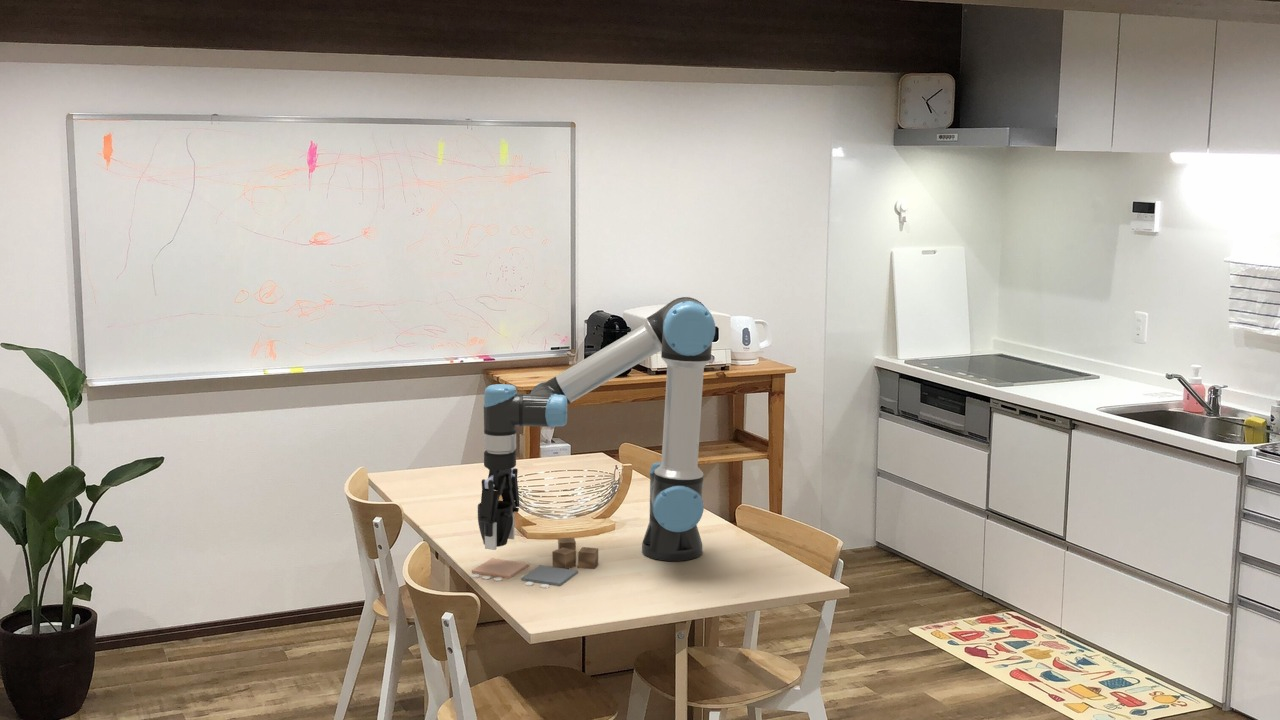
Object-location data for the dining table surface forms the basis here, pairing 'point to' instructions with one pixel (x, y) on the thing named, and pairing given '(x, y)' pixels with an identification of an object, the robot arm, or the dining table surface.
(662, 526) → the robot arm
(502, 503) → the mug
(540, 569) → the pad two
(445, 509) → the dining table surface
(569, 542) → the block
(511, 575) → the pad three
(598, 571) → the dining table surface
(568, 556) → the block
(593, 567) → the block
